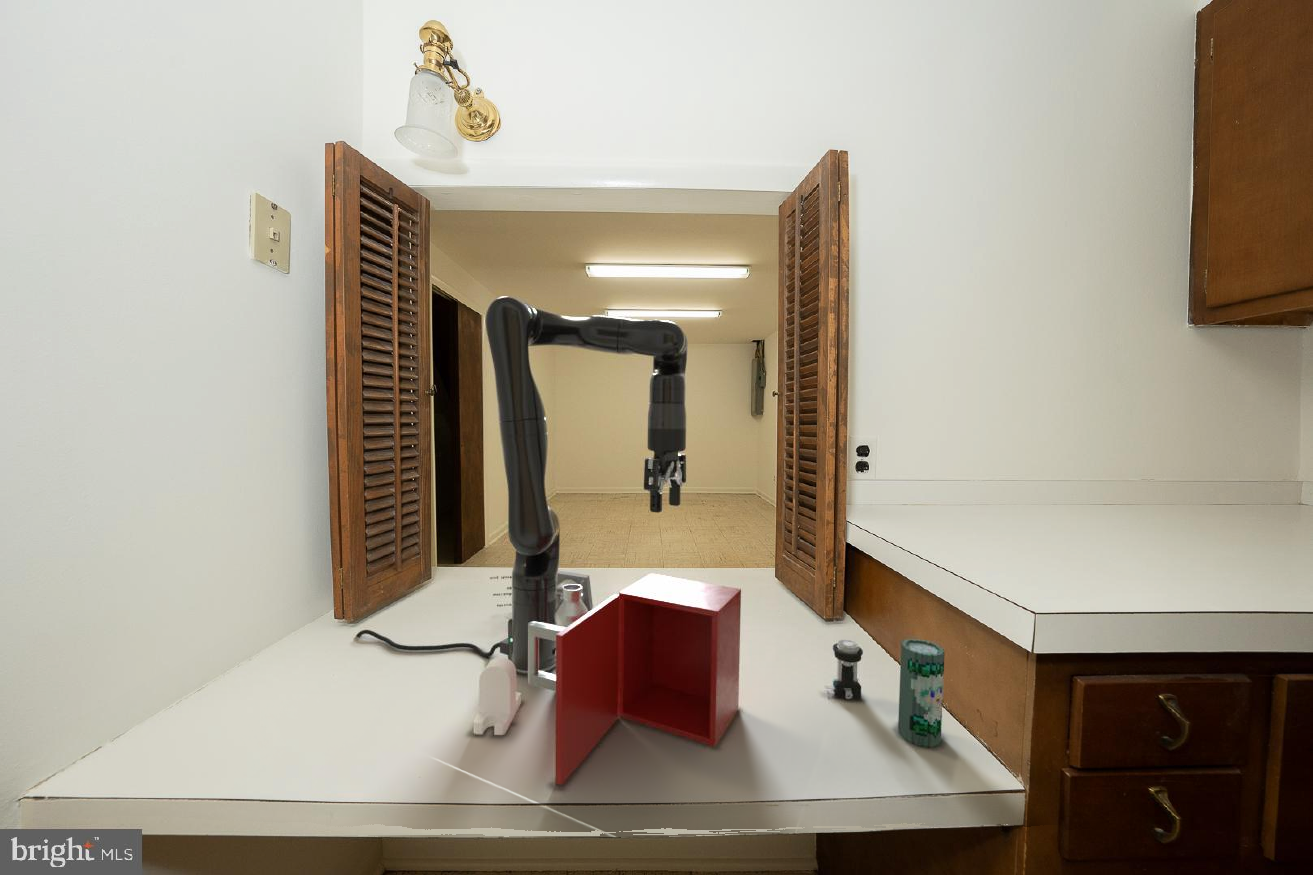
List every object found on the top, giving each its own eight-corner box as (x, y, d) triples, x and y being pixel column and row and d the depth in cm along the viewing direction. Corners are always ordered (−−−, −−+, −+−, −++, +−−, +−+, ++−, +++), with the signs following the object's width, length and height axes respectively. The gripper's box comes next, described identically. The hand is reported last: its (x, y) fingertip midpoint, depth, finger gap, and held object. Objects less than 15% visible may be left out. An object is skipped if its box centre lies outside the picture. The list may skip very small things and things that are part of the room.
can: (921, 750, 84) (925, 658, 83) (890, 728, 90) (894, 642, 89) (948, 741, 87) (952, 651, 86) (916, 720, 92) (920, 636, 91)
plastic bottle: (573, 704, 96) (574, 595, 95) (546, 693, 99) (546, 588, 98) (596, 688, 101) (597, 585, 100) (569, 678, 105) (570, 579, 104)
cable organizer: (472, 734, 86) (472, 674, 86) (492, 701, 96) (492, 647, 96) (504, 735, 86) (504, 675, 86) (521, 702, 96) (521, 648, 96)
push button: (828, 702, 98) (830, 649, 97) (821, 687, 103) (822, 636, 103) (865, 703, 97) (867, 650, 97) (855, 688, 103) (857, 638, 102)
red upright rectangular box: (715, 747, 84) (717, 611, 83) (617, 716, 92) (619, 592, 91) (738, 709, 95) (741, 588, 94) (649, 684, 103) (651, 573, 102)
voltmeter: (590, 602, 147) (591, 566, 146) (595, 618, 136) (595, 580, 135) (491, 608, 141) (491, 572, 141) (487, 625, 130) (486, 586, 129)
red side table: (518, 771, 78) (518, 626, 76) (581, 708, 94) (582, 588, 93) (561, 786, 75) (562, 635, 74) (618, 718, 91) (619, 594, 90)
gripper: (668, 427, 96) (667, 516, 96) (698, 426, 108) (697, 504, 109) (632, 426, 99) (631, 512, 100) (665, 425, 112) (664, 501, 112)
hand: (665, 508), depth 104 cm, fingers open, 8 cm apart
